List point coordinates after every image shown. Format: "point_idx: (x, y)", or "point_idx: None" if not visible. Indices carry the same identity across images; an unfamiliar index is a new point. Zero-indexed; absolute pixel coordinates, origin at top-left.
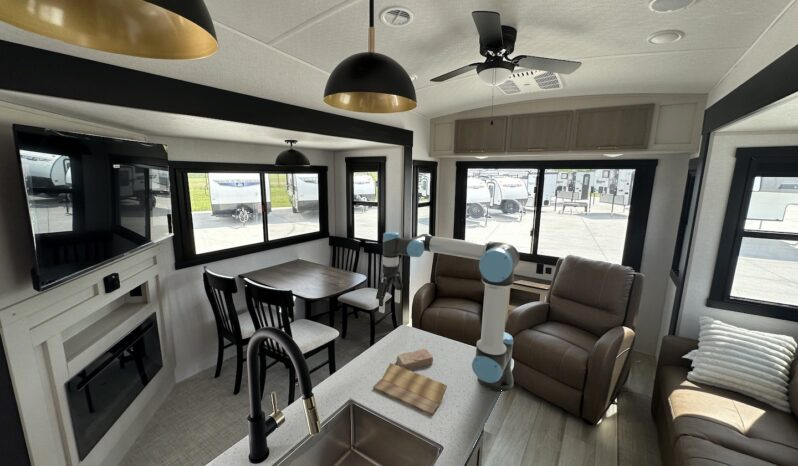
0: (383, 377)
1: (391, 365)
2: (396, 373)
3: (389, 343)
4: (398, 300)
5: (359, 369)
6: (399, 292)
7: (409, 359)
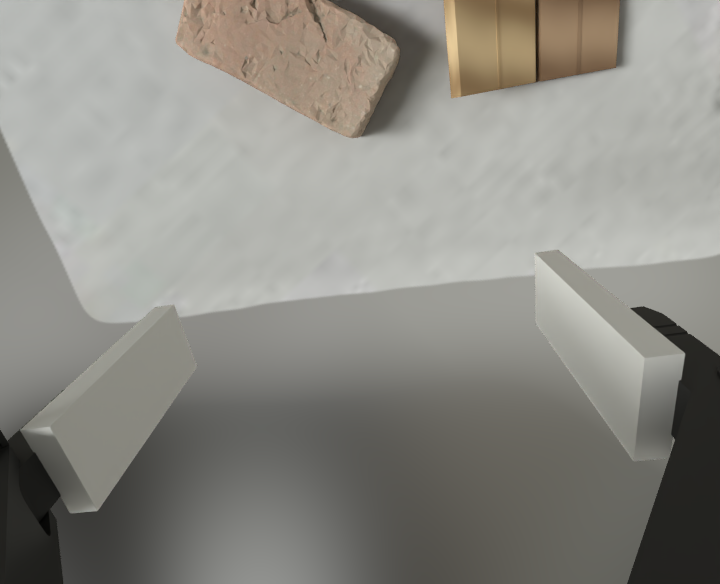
0: (528, 77)
1: (469, 78)
2: (490, 15)
3: (263, 278)
4: (162, 333)
5: (522, 233)
6: (75, 401)
7: (336, 46)
